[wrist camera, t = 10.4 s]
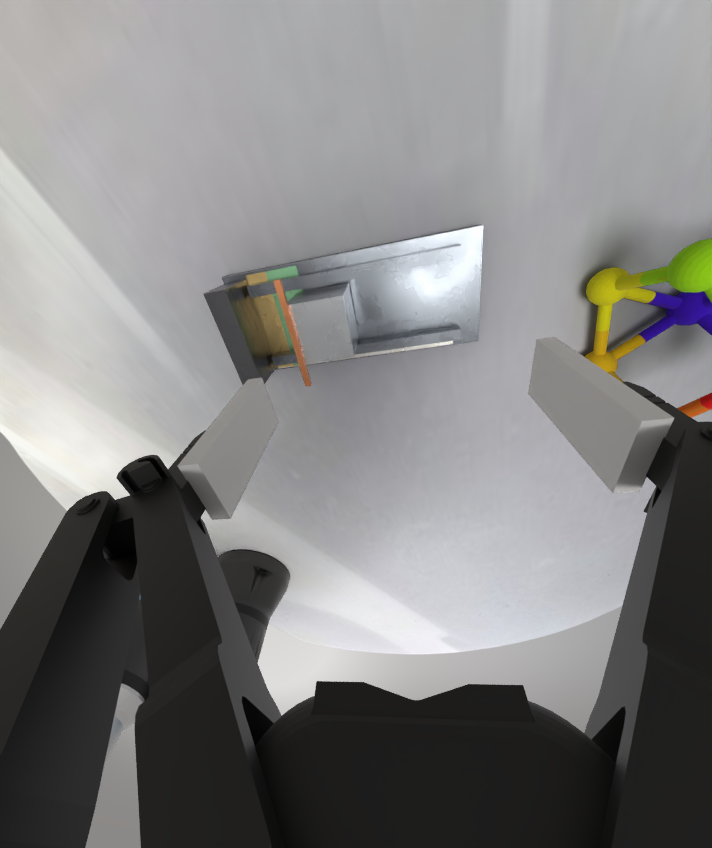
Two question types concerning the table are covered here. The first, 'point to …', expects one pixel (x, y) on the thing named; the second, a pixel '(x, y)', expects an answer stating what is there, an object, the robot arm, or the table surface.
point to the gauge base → (359, 299)
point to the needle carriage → (320, 324)
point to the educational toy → (697, 304)
